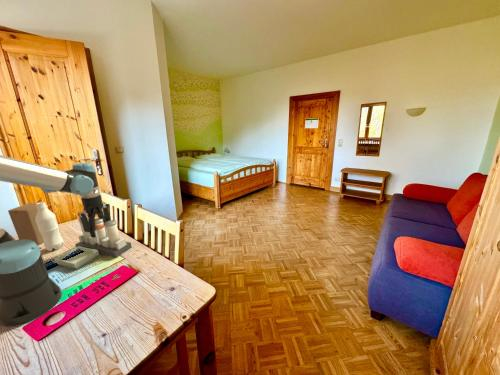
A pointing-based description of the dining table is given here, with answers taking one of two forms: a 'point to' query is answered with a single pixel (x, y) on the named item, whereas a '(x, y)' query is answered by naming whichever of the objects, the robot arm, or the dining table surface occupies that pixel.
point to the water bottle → (48, 227)
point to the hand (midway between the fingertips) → (101, 239)
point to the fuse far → (85, 234)
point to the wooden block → (26, 222)
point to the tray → (77, 258)
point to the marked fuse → (100, 230)
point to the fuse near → (112, 232)
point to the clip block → (106, 246)
